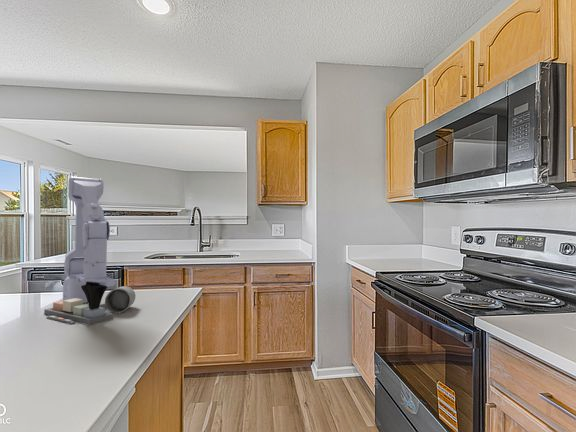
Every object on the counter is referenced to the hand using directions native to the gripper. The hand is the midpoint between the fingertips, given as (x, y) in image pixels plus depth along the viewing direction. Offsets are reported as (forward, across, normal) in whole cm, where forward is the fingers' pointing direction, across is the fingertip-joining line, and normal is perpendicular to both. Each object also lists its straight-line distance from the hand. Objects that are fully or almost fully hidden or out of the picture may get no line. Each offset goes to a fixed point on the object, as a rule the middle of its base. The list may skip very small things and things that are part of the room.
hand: (94, 308), depth 99 cm
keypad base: (+3, -8, 0) cm, 8 cm away
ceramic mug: (+4, -4, +10) cm, 11 cm away
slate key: (+3, 0, 0) cm, 3 cm away
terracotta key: (+3, -15, 0) cm, 15 cm away
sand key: (+2, -10, 0) cm, 10 cm away
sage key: (+3, -5, 0) cm, 6 cm away
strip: (+3, -8, -5) cm, 10 cm away
